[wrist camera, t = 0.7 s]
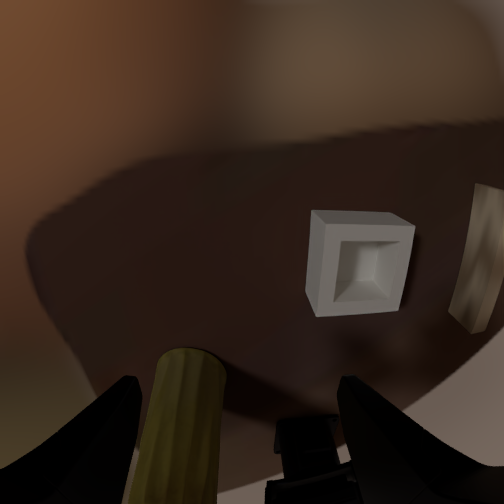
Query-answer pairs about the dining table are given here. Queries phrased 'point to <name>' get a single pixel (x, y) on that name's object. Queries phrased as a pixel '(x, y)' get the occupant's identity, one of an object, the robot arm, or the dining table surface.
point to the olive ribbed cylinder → (181, 431)
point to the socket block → (357, 261)
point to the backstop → (481, 261)
